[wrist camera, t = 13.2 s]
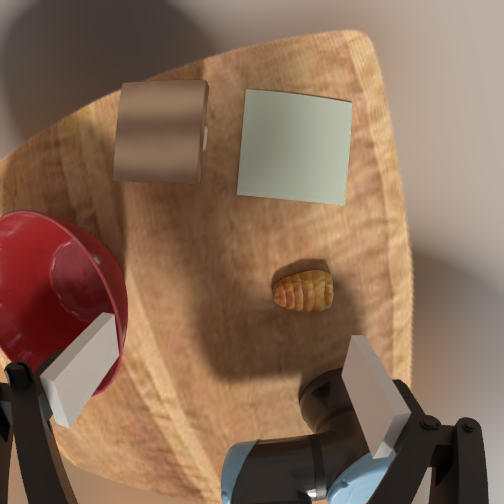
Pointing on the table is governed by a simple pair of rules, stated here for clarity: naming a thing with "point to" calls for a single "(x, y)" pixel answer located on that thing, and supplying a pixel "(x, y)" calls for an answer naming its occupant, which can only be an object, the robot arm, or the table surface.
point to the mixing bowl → (55, 288)
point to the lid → (161, 131)
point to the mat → (294, 147)
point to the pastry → (305, 291)
